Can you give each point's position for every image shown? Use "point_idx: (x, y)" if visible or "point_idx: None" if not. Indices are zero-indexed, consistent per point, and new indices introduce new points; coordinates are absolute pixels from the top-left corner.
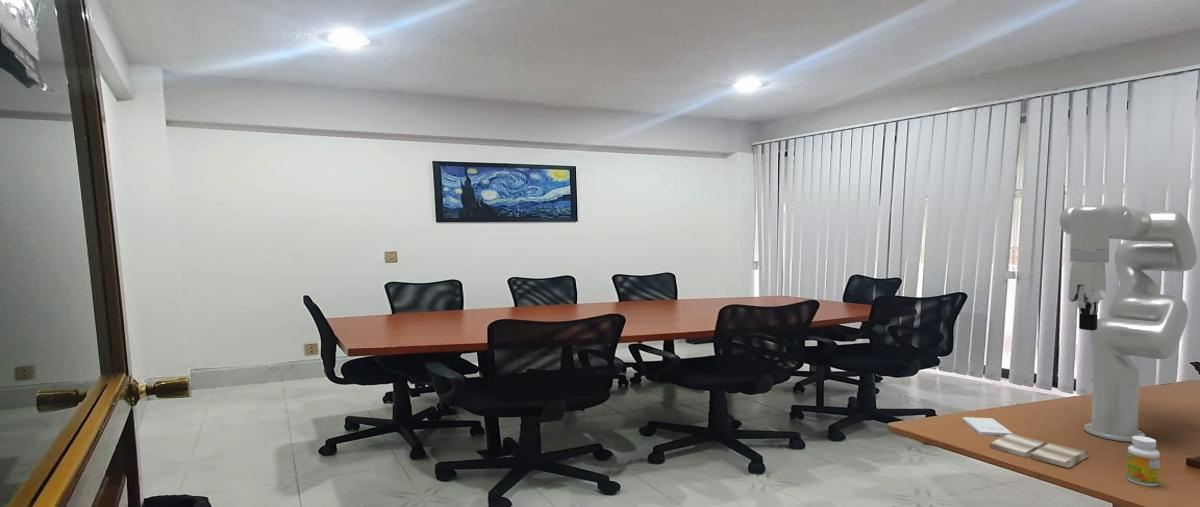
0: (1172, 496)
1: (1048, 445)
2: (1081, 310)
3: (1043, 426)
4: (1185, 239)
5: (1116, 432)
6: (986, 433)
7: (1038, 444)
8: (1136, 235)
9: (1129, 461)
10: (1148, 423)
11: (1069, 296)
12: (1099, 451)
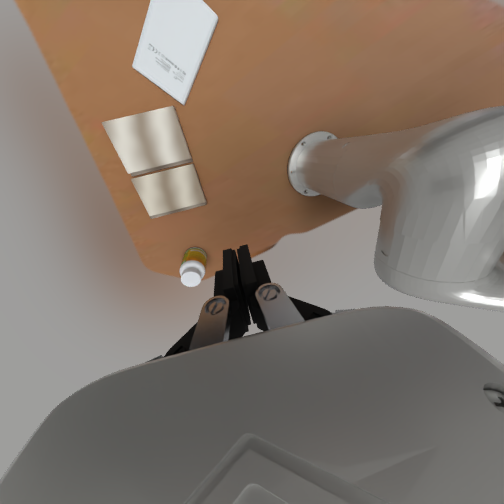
0: None
1: (182, 169)
2: (191, 332)
3: (271, 94)
4: None
5: (299, 180)
6: (142, 74)
7: (172, 160)
8: None
9: (182, 261)
10: None
11: (14, 465)
12: (238, 195)
